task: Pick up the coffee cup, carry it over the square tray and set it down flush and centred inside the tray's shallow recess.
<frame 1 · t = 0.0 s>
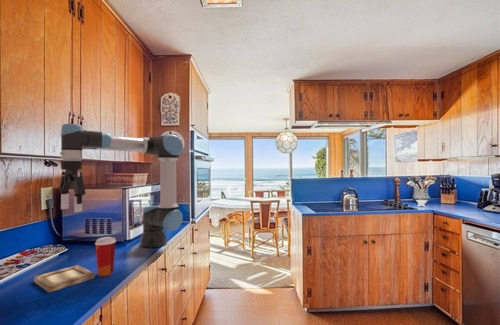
hand: (71, 210, 115), 28 cm above the countertop, fingers open, 13 cm apart
square tray: (64, 279, 111), on the countertop
coffee cup: (105, 274, 117), on the countertop
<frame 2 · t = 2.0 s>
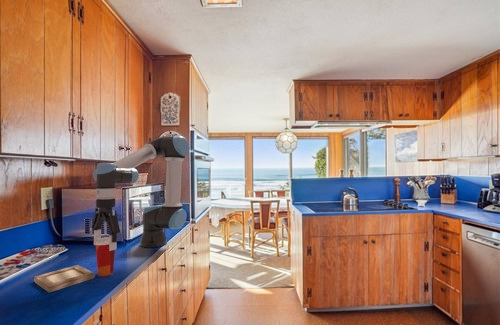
hand: (104, 247, 117), 12 cm above the countertop, fingers open, 13 cm apart
nothing on the countertop moved.
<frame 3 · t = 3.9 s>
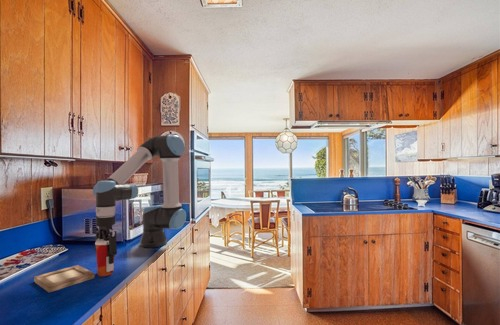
hand: (105, 268, 117), 2 cm above the countertop, fingers closed on coffee cup, 7 cm apart
coffee cup: (105, 274, 117), on the countertop, touching gripper
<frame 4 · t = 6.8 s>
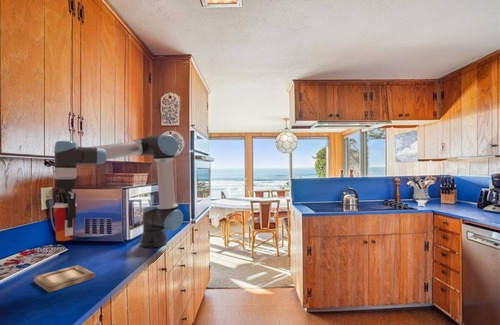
hand: (65, 234, 111), 19 cm above the countertop, fingers closed on coffee cup, 7 cm apart
coffee cup: (64, 239, 111), point 17 cm above the countertop, touching gripper
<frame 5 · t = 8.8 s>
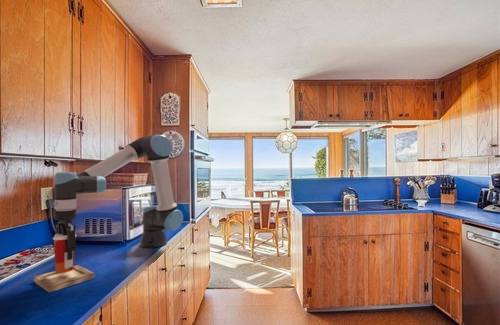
hand: (64, 265, 111), 6 cm above the countertop, fingers closed on coffee cup, 7 cm apart
coffee cup: (64, 270, 111), point 4 cm above the countertop, touching gripper
when the fingers open (4 cm above the countertop, at t = 10.0 s): coffee cup stays where it is, resting on square tray.
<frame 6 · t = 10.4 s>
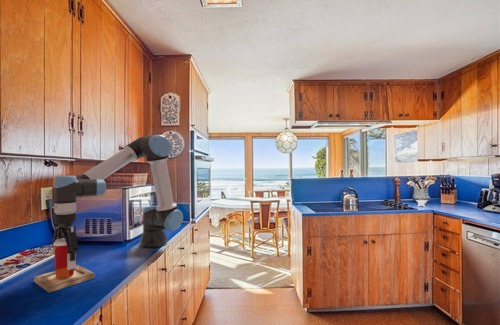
hand: (64, 265, 111), 6 cm above the countertop, fingers open, 12 cm apart
coffee cup: (64, 276, 111), point 1 cm above the countertop, touching square tray
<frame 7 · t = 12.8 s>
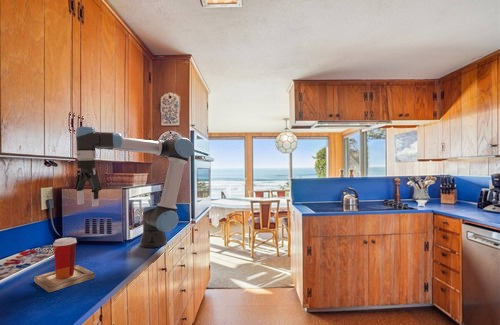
hand: (87, 205, 127), 28 cm above the countertop, fingers open, 13 cm apart
nothing on the countertop moved.
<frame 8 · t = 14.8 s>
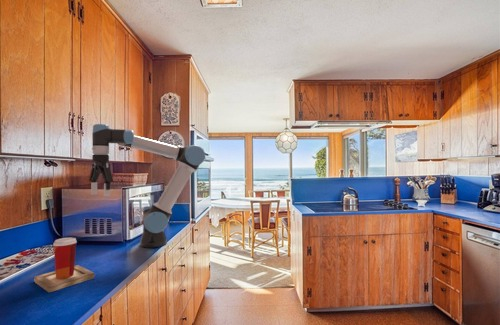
hand: (100, 195, 139), 32 cm above the countertop, fingers open, 13 cm apart
nothing on the countertop moved.
at the end: coffee cup inside the target area on the square tray (0.0 cm from its centre), point 1.3 cm above the square tray's base; coffee cup tilted 0°; the gripper is holding nothing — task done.
